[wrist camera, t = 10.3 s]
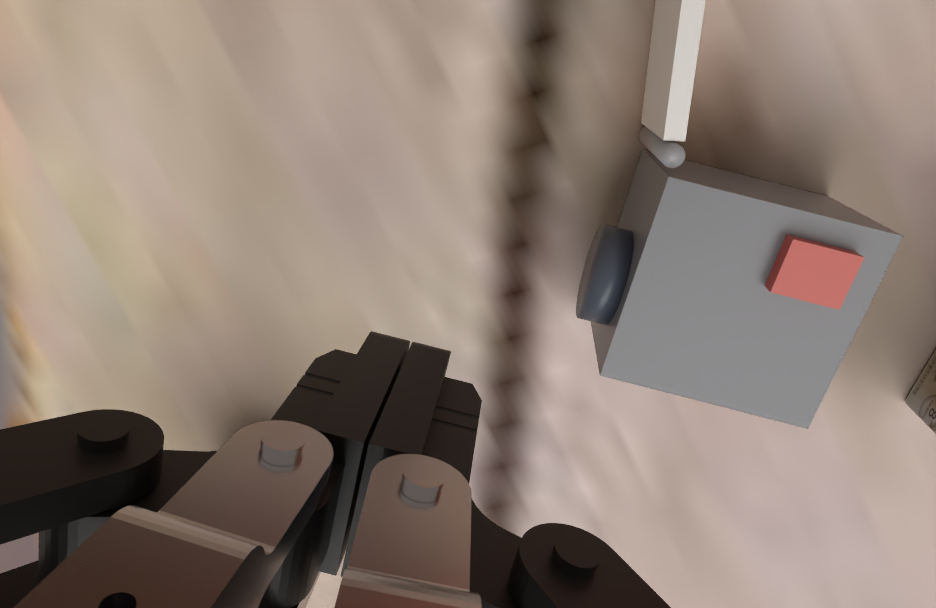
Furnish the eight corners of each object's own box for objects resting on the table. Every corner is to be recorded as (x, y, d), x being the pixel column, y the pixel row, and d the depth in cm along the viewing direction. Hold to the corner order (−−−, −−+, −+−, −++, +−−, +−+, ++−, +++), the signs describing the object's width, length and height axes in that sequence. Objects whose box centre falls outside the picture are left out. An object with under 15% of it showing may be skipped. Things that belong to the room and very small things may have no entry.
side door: (695, -154, 30) (738, -209, 24) (656, 145, 35) (683, 168, 29) (661, -154, 31) (694, -210, 24) (627, 143, 35) (647, 166, 29)
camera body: (757, 355, 39) (814, 438, 31) (565, 306, 39) (571, 375, 31) (827, 196, 36) (912, 241, 27) (616, 142, 36) (638, 171, 27)
